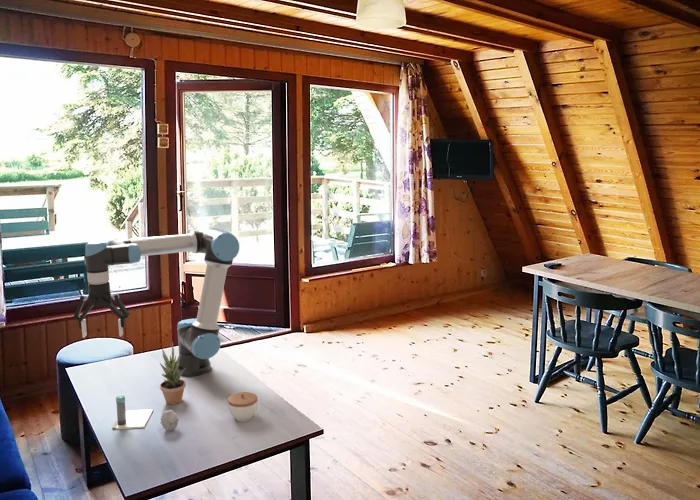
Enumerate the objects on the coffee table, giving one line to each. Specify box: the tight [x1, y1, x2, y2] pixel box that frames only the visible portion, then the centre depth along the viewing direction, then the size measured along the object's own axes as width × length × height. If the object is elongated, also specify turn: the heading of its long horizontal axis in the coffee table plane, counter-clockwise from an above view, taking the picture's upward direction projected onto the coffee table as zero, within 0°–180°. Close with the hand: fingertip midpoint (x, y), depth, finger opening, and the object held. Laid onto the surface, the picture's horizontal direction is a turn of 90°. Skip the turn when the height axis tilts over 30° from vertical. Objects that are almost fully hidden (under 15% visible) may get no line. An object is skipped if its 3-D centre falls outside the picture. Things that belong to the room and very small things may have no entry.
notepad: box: [111, 408, 154, 430], centre depth 216 cm, size 11×14×1 cm
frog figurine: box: [160, 409, 179, 432], centre depth 208 cm, size 6×7×7 cm
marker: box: [115, 395, 126, 425], centre depth 211 cm, size 3×3×10 cm
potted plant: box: [159, 341, 186, 405], centre depth 230 cm, size 10×10×25 cm
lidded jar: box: [227, 391, 258, 422], centre depth 217 cm, size 11×11×9 cm
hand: (103, 336), depth 228 cm, fingers open, 13 cm apart
